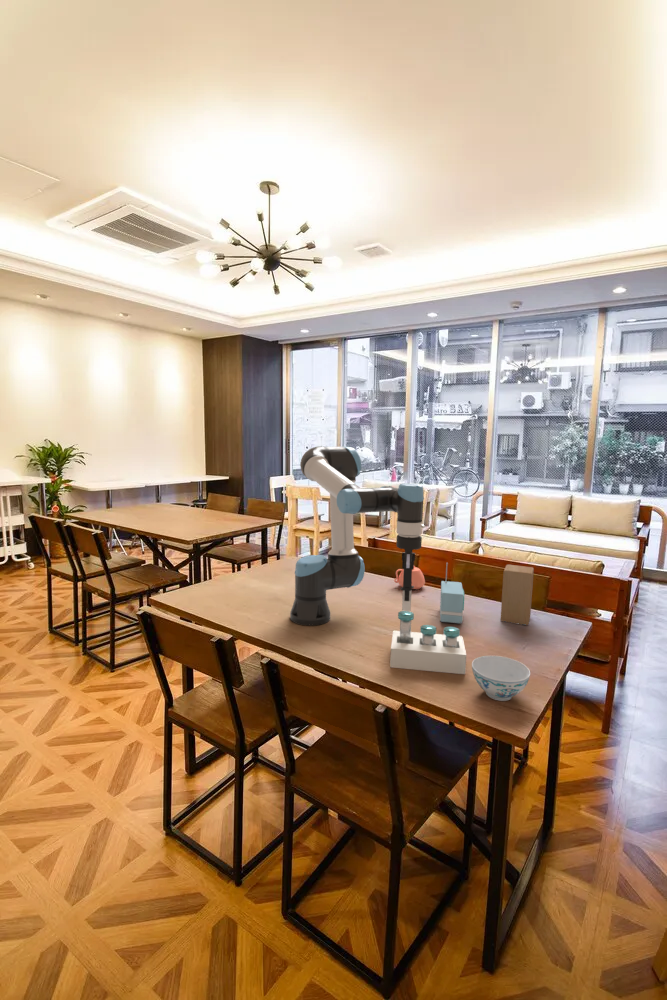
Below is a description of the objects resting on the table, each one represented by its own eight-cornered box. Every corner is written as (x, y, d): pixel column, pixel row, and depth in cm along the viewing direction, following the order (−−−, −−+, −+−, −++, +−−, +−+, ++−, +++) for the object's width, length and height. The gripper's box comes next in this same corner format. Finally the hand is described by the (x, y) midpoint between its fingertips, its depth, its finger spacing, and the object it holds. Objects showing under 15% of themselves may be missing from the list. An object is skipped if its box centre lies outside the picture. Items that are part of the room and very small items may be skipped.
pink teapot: (426, 591, 225) (427, 569, 223) (395, 591, 225) (396, 568, 224) (422, 583, 237) (423, 562, 236) (392, 582, 237) (393, 561, 236)
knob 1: (396, 645, 155) (397, 615, 154) (397, 638, 160) (398, 610, 158) (412, 646, 154) (413, 617, 153) (412, 640, 159) (413, 611, 158)
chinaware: (467, 702, 132) (469, 674, 131) (473, 677, 146) (474, 651, 145) (528, 714, 127) (530, 685, 126) (528, 687, 141) (530, 661, 140)
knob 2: (442, 661, 153) (444, 632, 152) (441, 654, 158) (443, 626, 157) (458, 662, 152) (460, 633, 151) (457, 656, 157) (459, 627, 156)
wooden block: (530, 617, 195) (533, 567, 193) (528, 626, 186) (532, 573, 184) (503, 613, 199) (506, 564, 197) (500, 621, 190) (503, 570, 188)
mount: (390, 667, 151) (390, 648, 151) (392, 647, 165) (393, 630, 164) (465, 674, 148) (466, 655, 147) (461, 653, 161) (462, 636, 161)
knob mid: (419, 659, 154) (420, 630, 153) (419, 652, 159) (420, 624, 158) (435, 660, 154) (436, 631, 152) (434, 654, 158) (436, 625, 157)
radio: (465, 626, 185) (468, 573, 183) (440, 623, 187) (442, 571, 184) (462, 611, 201) (465, 562, 198) (439, 609, 203) (442, 561, 200)
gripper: (421, 539, 145) (418, 618, 148) (421, 531, 158) (418, 603, 161) (395, 538, 147) (393, 616, 150) (397, 530, 159) (395, 602, 162)
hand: (406, 609), depth 155 cm, fingers closed
